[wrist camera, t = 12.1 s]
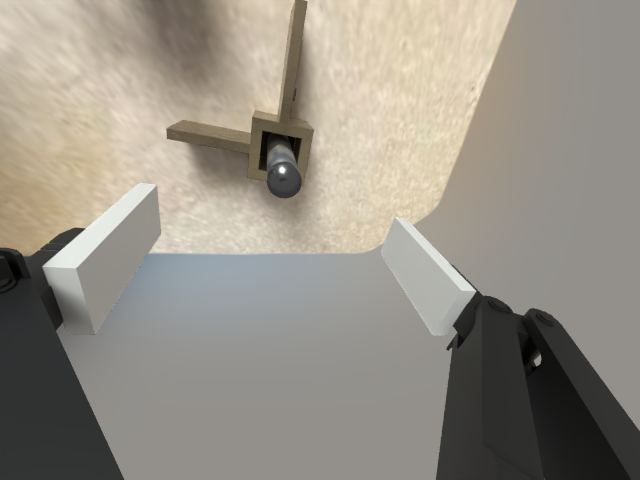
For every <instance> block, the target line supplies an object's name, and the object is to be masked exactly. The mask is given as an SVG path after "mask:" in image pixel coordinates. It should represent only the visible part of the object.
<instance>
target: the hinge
mask: <svg viewBox="0 0 640 480" xmlns="http://www.w3.org/2000/svg"><path fill="white" fill-rule="evenodd" d="M306 8H307V1H304V0H295V2H294V5H293V8H292V11H291V16H290V24H289V31H288V39H287V47H286V55H285V62H284V70H283V78H282V85H281V93H280V101H279V109H278V115H274V114H269V113H265V112H260V111H256V110H255V112H254V114H253V118H252V129H251V133H247V132H241V131H236V130H231V129H226V128H221V127H216V126H211V125H206V124H201V123H196V122H191V121H186V120H182V121H180V122H178V123H176V124H174V125H172V126H170V127H168V128H166V129H167V139H171V140H176V141H182V142H187V143H193V144H199V145H204V146H210V147H215V148H221V149H226V150H232V151H238V152H243V153H249V164H248V175H247V178H252V179H259V180H265V181H267V157H261V156H260V149H261V139H262V130H263V131H268V132H273V133H277V134H282V135H287V136H292V137H296V138H295V144H294V150H293V155H294V158H295V161H296V164H297V167H298V170H299V172H300V175H301V179H302V184H301V186H303V183H304V178H305V173H306V168H307V163H308V158H309V153H310V147H311V142H312V137H313V132H314V129H313V128H312V127H311V126H310V125H309V124H308V122H306V121H301V120H297V119H292V118H290V114H291V107H292V101H294V100H295V96H296V88H295V81H296V74H297V68H298V61H299V55H300V48H301V41H302V35H303V28H304V21H305V15H306Z"/></svg>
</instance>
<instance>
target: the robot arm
mask: <svg viewBox="0 0 640 480" xmlns="http://www.w3.org/2000/svg"><path fill="white" fill-rule="evenodd" d="M160 234H161V226H160V215H159V204H158V192H157V185H152V184H145V183H138V184H137V185H136V186H135V187H133V188H132V189H131V190H130V191H129V192H128V193H127V194H125V195H124V196H123V197H122V198H121V199H120V200H118V201H117V202H116V203H115V204H114V205H113V206H112V207H110V208H109V209H108V210H107V211H106V212H105V213H103V214H102V215H101V216H100V217H99V218H98V219H97V220H95V221H94V222H93V223H92V224H91V225H90V226H88V227H87V228H86V229H85V228H73V229H70V230H68V231H66V232H63V233H61V234H59V235H58V236H56V237H55V238H54V239H52V240H51V241H50V242H49V244H46V245H45V246H43V247H42V248H41V250H40V251H39V250H38V251H37V252H36V253H35V254H33V255H32V256H31V257H29V258H28V259H27V260H26V261H24V258H23V256H22V254H21V253H20V252H19V251H17V250H14V249H10V248H0V480H124V478H123V476H122V474H121V472H120V469H119V467H118V465H117V463H116V461H115V458H114V456H113V454H112V452H111V450H110V448H109V446H108V443H107V441H106V439H105V437H104V435H103V432H102V430H101V428H100V426H99V424H98V422H97V419H96V417H95V415H94V413H93V411H92V408H91V406H90V404H89V402H88V400H87V398H86V395H85V394H84V391H83V389H82V387H81V385H80V382H79V380H78V378H77V376H76V374H75V372H74V369H73V367H72V365H71V363H70V361H69V359H68V356H67V354H66V352H65V350H64V348H63V346H62V343H61V341H60V339H59V337H58V335H57V333H56V330H57V329H58V327H59V326H60V325H61V324H62V323H63V324H64V327H65V330H66V332H67V334H68V335H96V333H97V332H98V330H99V328H100V327H101V325H102V324H103V322H104V321H105V319H106V318H107V316H108V315H109V313H110V311H111V310H112V308H113V307H114V305H115V304H116V302H117V301H118V299H119V297H120V296H121V295H122V293H123V291H124V290H125V288H126V287H127V285H128V284H129V282H130V281H131V279H132V278H133V276H134V274H135V273H136V271H137V270H138V268H139V267H140V265H141V264H142V262H143V261H144V259H145V258H146V256H147V254H148V253H149V251H150V250H151V248H152V247H153V245H154V244H155V242H156V241H157V239H158V238H159V236H160ZM380 254H381V256H382V257H383V259H384V260H385V262H386V263H387V265H388V266H389V268H390V270H391V271H392V273H393V274H394V276H395V278H396V279H397V281H398V282H399V284H400V285H401V287H402V288H403V290H404V292H405V293H406V294H407V296H408V298H409V299H410V301H411V302H412V304H413V306H414V307H415V309H416V310H417V312H418V313H419V315H420V316H421V318H422V319H423V321H424V323H425V324H426V326H427V327H428V329H429V330H430V332H431V333H432V335H436V336H439V335H440V336H443V335H445V336H446V335H447V334H448V333H449V331H450V330H451V328H452V327H454V328H455V329H456V331H457V334H456V335H455V337H454V338H453V340H452V341H451V342H450V344H449V345H448V347H447V350H449V349H450V348H453V349H452V356H451V364H450V372H449V380H448V388H447V396H446V404H445V412H444V421H443V428H442V437H441V445H440V452H439V460H438V468H437V476H436V480H544V478H545V480H640V431H639V430H638V428H637V427H636V426H635V424H634V423H633V422H632V420H631V419H630V418H629V416H628V415H627V413H626V412H625V411H624V409H623V408H622V407H621V405H620V404H619V403H618V401H617V400H616V398H615V397H614V396H613V395H612V393H611V392H610V390H609V389H608V388H607V386H606V385H605V383H604V382H603V381H602V379H601V378H600V377H599V375H598V374H597V373H596V371H595V370H594V368H593V367H592V366H591V365H590V363H589V362H588V361H587V359H586V358H585V356H584V355H583V354H582V352H581V351H580V349H579V348H578V347H577V345H576V344H575V343H574V342H573V340H572V339H571V337H570V336H569V334H568V333H567V332H566V330H565V329H564V328H563V326H562V325H561V324H560V323H559V322H558V321H557V320H556V319H555V318H553V316H552V315H550V314H548V313H546V312H543V311H541V310H538V309H534V308H532V309H529V310H528V312H527V313H526V314H525V315H524V316H522V315H518V314H515V313H513V311H512V310H511V309H510V307H509V306H508V305H506V304H505V303H503V302H502V301H500V300H498V299H496V298H494V297H491V296H483V295H482V294H481V293H480V292H479V291H478V290H477V289H476V288H475V287H474V286H473V285H472V284H471V283H470V282H469V281H468V280H466V278H465V277H464V276H463V275H462V274H460V272H459V271H458V270H457V269H456V268H455V267H454V266H453V265H451V264H450V263H448V262H447V261H446V260H445V258H444V257H443V256H442V255H441V254H440V253H439V252H438V251H437V250H436V249H435V248H434V247H433V246H432V245H431V244H430V243H429V242H428V241H427V240H426V239H425V238H424V237H423V236H422V235H421V234H420V233H419V232H418V231H417V230H416V229H415V228H414V227H413V226H412V225H411V224H410V222H409V221H408V220H407V219H405V218H398V217H395V218H394V220H393V223H392V225H391V228H390V230H389V233H388V235H387V238H386V240H385V243H384V245H383V248H382V250H381V253H380ZM540 354H541V359H542V360H541V364H540V365H539V366H536V365H535V363H534V360H535V359H536V358H537V357H538V356H539V355H540Z"/></svg>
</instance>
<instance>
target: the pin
mask: <svg viewBox="0 0 640 480" xmlns="http://www.w3.org/2000/svg"><path fill="white" fill-rule="evenodd" d="M301 184H302V179H301V175H300V172H299V170H298V167H297V164H296V161H295V158H294V155H293V152H292V149H291V146H290V143H289V140H288V138H287V136H286V135H282V134H277V133H272V134H271V135H270V136H269V137H268V140H267V185H268V188H269V190H270V191H271V193H272V194H274V195H275V196H277V197H280V198H290V197H292V196H294V195H295V194H297V193H298V191H299V190H300V188H301Z"/></svg>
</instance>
